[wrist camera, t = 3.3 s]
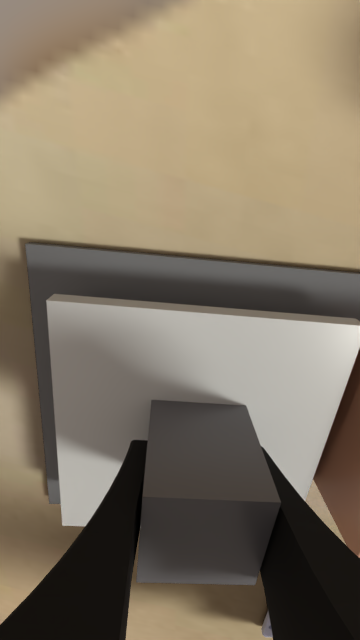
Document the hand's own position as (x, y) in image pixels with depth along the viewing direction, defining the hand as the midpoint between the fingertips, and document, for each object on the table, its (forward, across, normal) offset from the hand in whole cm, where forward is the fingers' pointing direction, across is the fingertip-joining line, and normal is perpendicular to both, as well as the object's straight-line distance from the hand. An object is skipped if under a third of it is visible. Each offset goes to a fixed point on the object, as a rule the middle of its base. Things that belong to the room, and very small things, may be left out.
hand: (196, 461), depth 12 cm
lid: (+2, 0, 0) cm, 2 cm away
